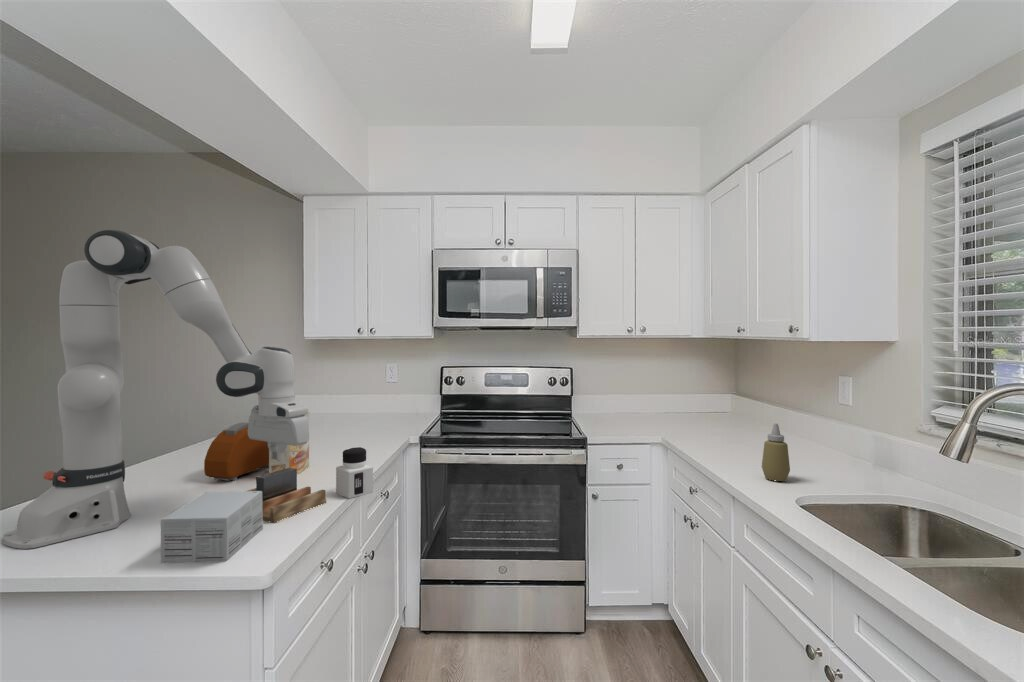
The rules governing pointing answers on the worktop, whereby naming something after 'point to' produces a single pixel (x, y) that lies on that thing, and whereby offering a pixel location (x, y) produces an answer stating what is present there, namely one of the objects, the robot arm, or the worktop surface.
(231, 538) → the supplement box
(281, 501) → the rack
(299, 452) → the coffeecake box
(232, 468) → the orange rounded block
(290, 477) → the block
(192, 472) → the worktop surface
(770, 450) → the squeeze bottle
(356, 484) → the container
